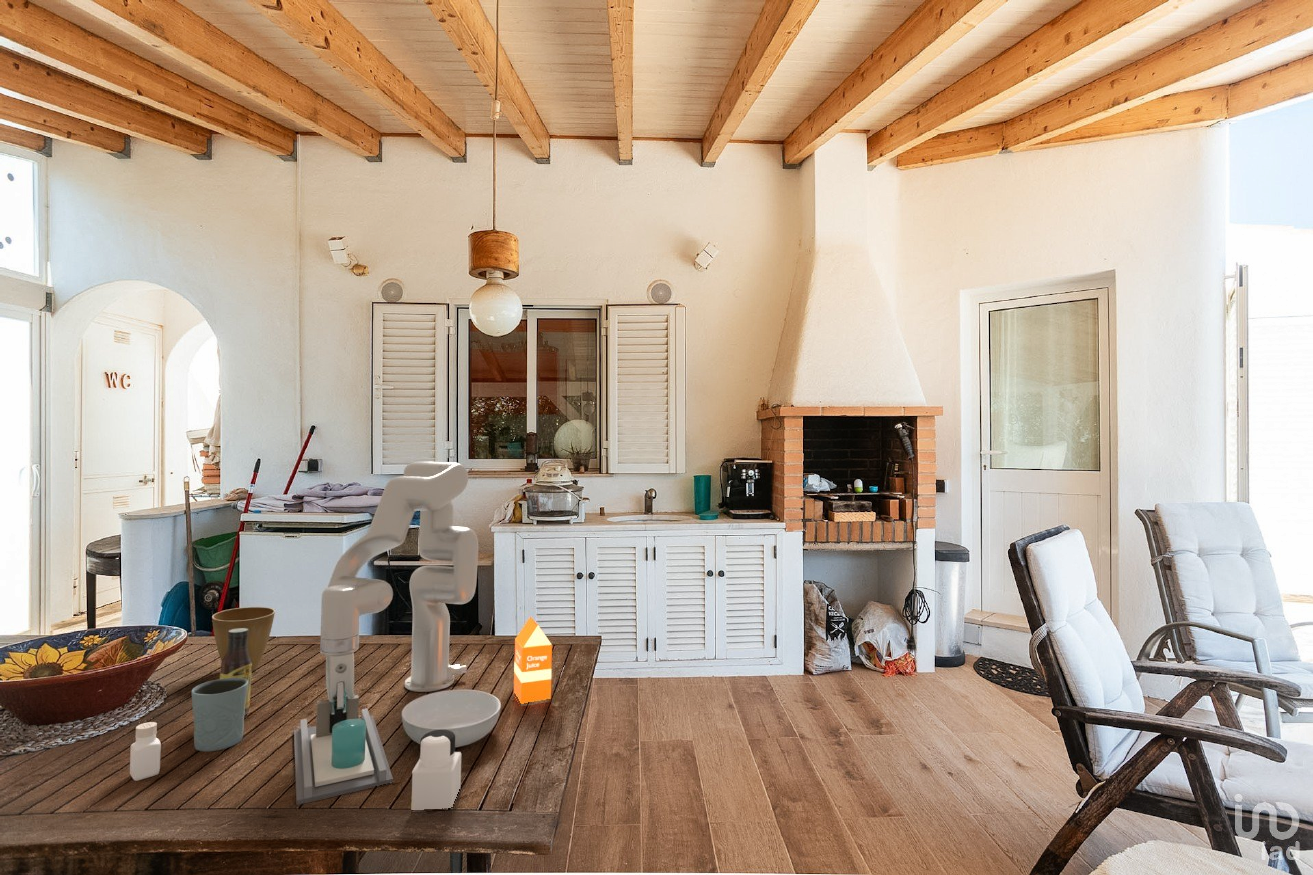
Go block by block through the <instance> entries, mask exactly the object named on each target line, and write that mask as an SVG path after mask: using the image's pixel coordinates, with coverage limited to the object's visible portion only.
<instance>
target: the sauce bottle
mask: <svg viewBox="0 0 1313 875" xmlns="http://www.w3.org/2000/svg"><path fill="white" fill-rule="evenodd" d="M248 631H249V630H248V629H247V628H238V629H232V630H229V631H228V638H229V643H228V652H227V653H226V655H225V656H224V658H223V659H222V661H221V663H220V673H219V679H225V678H243V679H246V680H248V690H247V698H246V703H245V715H244V716H246V715H247V714H248V713H249V710H250V705H251V689H252V688H251V687H252V686H251V685H252V672H253V671H252V662H251V660H250V656H249V653H248V649H247V636H248Z"/></svg>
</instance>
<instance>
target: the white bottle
mask: <svg viewBox="0 0 1313 875" xmlns="http://www.w3.org/2000/svg"><path fill="white" fill-rule="evenodd" d="M419 745H420V746H419V747H420V748H419V750H420V751H419V759H418V761H417V763H416V764H415V766H414V768H413V769H412V771H411V791H410V792H411V795H410V796H411V797H410V798H411V799H410V802H411V803H410V811H411V810H424V809H442V808H443V809H444V808H451V807H454V806H453V804H454V805H455V803H454V801H455V799H456V800H457V798H458V796H457V794H458V792H459V793H460V791H459V789H460V790H461V786H462V785H461V782H462V779H461V776H462V753H461V751H456V747H455V734H454V733H453V732H452V731H449V730H443V729H440V730H434V731H431V732H428V733H426V734H425V735H424V736H423V737H422V738H421V740H420V744H419ZM458 795H459V794H458ZM456 797H457V798H456ZM455 802H456V801H455Z"/></svg>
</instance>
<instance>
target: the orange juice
mask: <svg viewBox="0 0 1313 875" xmlns="http://www.w3.org/2000/svg"><path fill="white" fill-rule="evenodd" d="M552 654H553V644H552V643H551V641H550V640H549V639H548V637H547V636H546V634H545V633H544V631H543V629H542V628H541V627H540V625H539V624H538V623H537V622H536V621H535V620H534V619H533V618H532V617H531V616H529V618H528V619H527V621H526V622H525V624H524V625H523V627H522V628H521V630H520V631H519V633H518V635H517V636H516V637H515V638H514V668H513V670H514V671H513V672H514V674H513V677H514V678H513V694H514V693H515V694H516V696H517V697H518V699H519V701H520V703H521V704H524V703H528V702H534V701H541V700H546V699H551V698H552V697H551V696H552V663H553V662H552Z"/></svg>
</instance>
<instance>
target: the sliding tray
mask: <svg viewBox="0 0 1313 875" xmlns="http://www.w3.org/2000/svg"><path fill="white" fill-rule="evenodd" d="M334 699H335V698H334ZM359 702H360V697H359V694H354V698H353V699H351V698H349V699H348V697H347V696H346V711H347V718H346V720H349V719H358V718H359V711H360V710H359V707H360V706H359V705H360V703H359ZM335 704H337V703H335ZM331 707H332V702H330V701H329V699H328V698H327V699H323V700H317V701H316V721H315V722H316V723H315V724H316V725H315V726H316V734H314V735H311V748H312V759H313V770H314V781H315V787H318V786H322V785H327V784H331V783H336V782H340V781H345V780H349V779H354V778H358V777H363V776H367V775H372V774H374V768H373V764H372V760H371V757H370V753H369V749H368V746H367V742H365V760H364V761H363V762H362V763H361V764H359V765H357V766H354V767H351V768H345V769H338V768H334V767H332V765H331V757H332V733H330V731H329V727H330V714H331Z"/></svg>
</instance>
